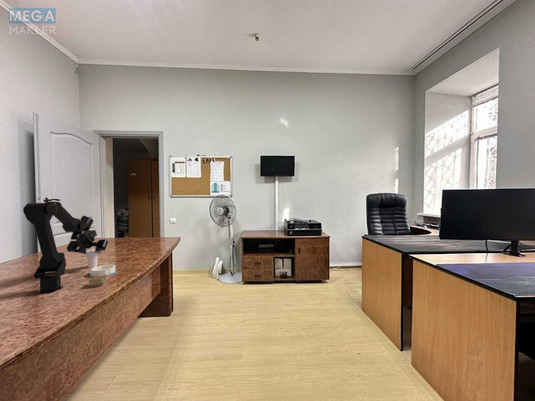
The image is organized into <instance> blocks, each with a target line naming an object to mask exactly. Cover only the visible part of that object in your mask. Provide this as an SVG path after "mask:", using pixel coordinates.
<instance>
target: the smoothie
mask: <svg viewBox="0 0 535 401" xmlns="http://www.w3.org/2000/svg"><path fill="white" fill-rule="evenodd" d="M95 249H96V248H95ZM95 249H94V246H92V247H91V249H88V250H87V251H86V254H85V255H86V258H87V266H88V268H89V269H91V268H94V267H97V266H98V259H99V254H98V253H97V252H95Z"/></svg>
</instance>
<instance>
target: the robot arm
mask: <svg viewBox="0 0 535 401" xmlns="http://www.w3.org/2000/svg"><path fill="white" fill-rule="evenodd" d="M22 211H23V214H24V216H25V219H26V220H27V221H28V222H30V223H31V224H32V225H33V226H34V230H35V234H36V237H37V240H38V244H39V247H40V252H41V257H40V259H39V262H38V267H37V268H36V270H35V271H34V273H33V276H34V279H35V280H36V279H39V290H37V291H36V293H37V294H51V293H53V292H56V291H58V290H61V289H63V288H64V286H63V285H62V280H61V278H62V277H61V276H63V275H65V273H66V267H67V261H66V260H67V258H66V256H65V253H64V251H63V252H62V251H61V252H59V251H58V248H57V246H56V244H57V243H56V241H55V237H54V233H53V230H52V226H51V225H52V224H51V219H52V218H53V217H54V218H55V219H57V220H58V221H59V222H60V223H61V224H62V226H61V228H62V229H63V231H65V232H66V233H71V236H70V241H69V243H68V245H66V250H67V252H68V253H72V252H73V253H79V254H82V255H87V254H86V251H88V250H89V249H92V246H93V247H95V252H97V253H98V255H101V253H102V251H105V250H106V249H107V246H108V244H109V241H108V239H98V240H97V241H95V240H96V239H95V238H96V237H97V236H98V235H97V231H96V229H91V227H92V225H93V223H94V219H93V218H92V217H89V216H87V215H82V216H81V218H80V219H79V218H77V217H73V215H72V214H71V213H69V211H68V210H66V208H64V206H63V205H62V203H61V202H60V201H46V202H28V203H26V204H25V206H23V209H22ZM87 249H88V250H87Z"/></svg>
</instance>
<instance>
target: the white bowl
mask: <svg viewBox="0 0 535 401" xmlns="http://www.w3.org/2000/svg"><path fill="white" fill-rule="evenodd" d="M115 269H116V265H115V264H104V265H97V267H94V268H90V270H89V271H90V272H89V273H90V274H91V276H93V277H94V276H103V275H109V276H111V275H110V274H113V273H115Z"/></svg>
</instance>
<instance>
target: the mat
mask: <svg viewBox="0 0 535 401" xmlns="http://www.w3.org/2000/svg"><path fill="white" fill-rule="evenodd" d="M87 274H88V276H89V280H90V279H91V278H92V277H93V276H91V274H90V272H88V273H87ZM118 274H119V272H118V270H117V269H116V268H115V273H113V274H110V275H106V277H108V276H113V275H118Z"/></svg>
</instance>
